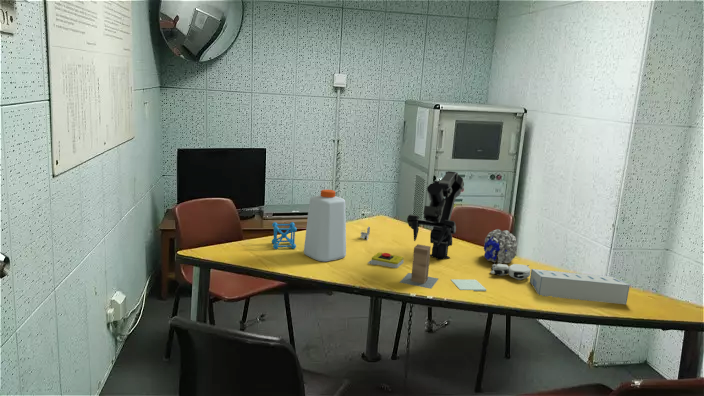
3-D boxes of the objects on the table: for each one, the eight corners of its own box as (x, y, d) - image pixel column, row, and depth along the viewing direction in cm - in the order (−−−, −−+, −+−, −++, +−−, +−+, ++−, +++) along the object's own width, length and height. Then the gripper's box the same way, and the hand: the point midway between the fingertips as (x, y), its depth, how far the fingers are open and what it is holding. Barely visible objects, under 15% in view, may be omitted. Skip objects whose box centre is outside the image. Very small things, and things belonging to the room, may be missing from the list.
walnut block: (414, 277, 188) (417, 244, 185) (427, 279, 186) (430, 246, 183) (411, 281, 183) (414, 247, 181) (424, 283, 181) (427, 249, 179)
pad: (450, 280, 187) (450, 279, 187) (475, 281, 189) (475, 279, 189) (460, 290, 178) (460, 289, 177) (486, 291, 179) (486, 289, 179)
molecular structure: (273, 249, 212) (273, 227, 210) (271, 243, 222) (272, 221, 220) (296, 249, 215) (297, 227, 213) (293, 242, 224) (294, 221, 222)
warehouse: (610, 290, 189) (613, 271, 187) (626, 305, 175) (629, 285, 173) (529, 282, 192) (532, 264, 191) (538, 296, 178) (541, 276, 177)
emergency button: (375, 248, 209) (409, 255, 204) (375, 258, 210) (408, 265, 204) (367, 254, 201) (402, 261, 195) (366, 264, 202) (401, 271, 196)
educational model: (480, 274, 215) (480, 247, 207) (486, 244, 230) (487, 219, 221) (513, 278, 210) (515, 252, 202) (518, 248, 225) (519, 222, 216)
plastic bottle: (299, 253, 209) (302, 188, 203) (327, 248, 219) (331, 186, 213) (321, 263, 198) (324, 195, 192) (349, 257, 208) (354, 192, 202)
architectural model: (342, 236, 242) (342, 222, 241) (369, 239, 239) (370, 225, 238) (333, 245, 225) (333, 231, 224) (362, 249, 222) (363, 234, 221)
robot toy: (489, 279, 194) (529, 284, 189) (489, 268, 193) (530, 272, 188) (492, 270, 206) (530, 274, 200) (492, 260, 205) (530, 263, 200)
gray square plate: (408, 273, 192) (408, 272, 192) (438, 279, 188) (438, 278, 188) (399, 283, 181) (399, 282, 181) (431, 289, 177) (431, 288, 177)
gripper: (410, 194, 194) (399, 228, 187) (457, 200, 187) (448, 235, 179) (414, 209, 203) (404, 242, 195) (459, 216, 196) (450, 250, 188)
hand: (426, 242), depth 189 cm, fingers open, 9 cm apart
